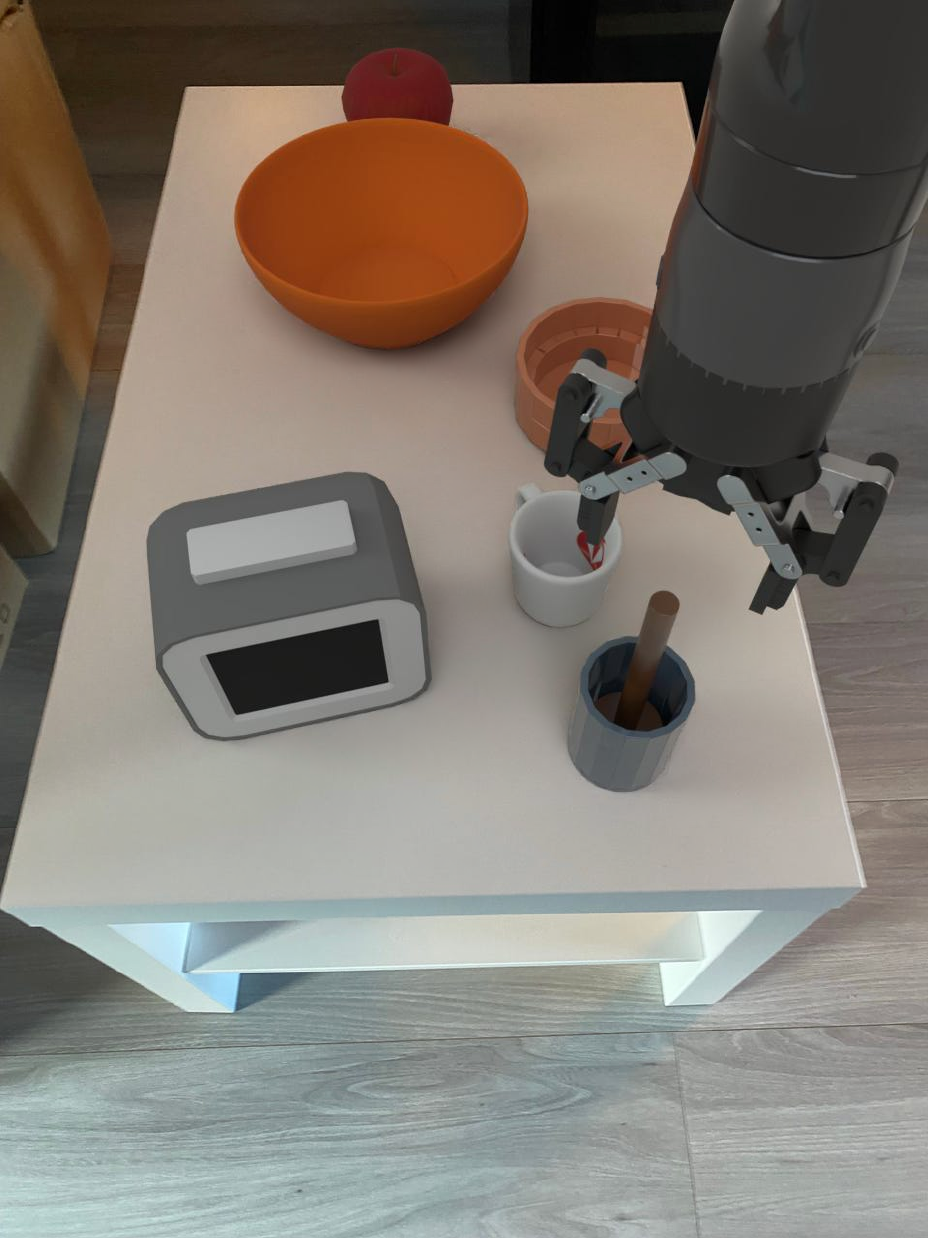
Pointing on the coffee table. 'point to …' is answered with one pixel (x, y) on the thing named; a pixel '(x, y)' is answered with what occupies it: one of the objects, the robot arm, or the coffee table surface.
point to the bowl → (382, 228)
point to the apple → (398, 87)
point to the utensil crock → (612, 749)
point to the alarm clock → (286, 606)
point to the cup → (558, 557)
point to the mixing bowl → (559, 346)
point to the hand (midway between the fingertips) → (677, 564)
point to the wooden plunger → (643, 669)
